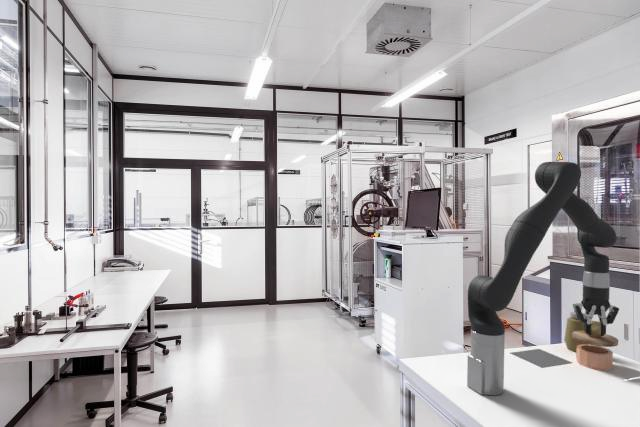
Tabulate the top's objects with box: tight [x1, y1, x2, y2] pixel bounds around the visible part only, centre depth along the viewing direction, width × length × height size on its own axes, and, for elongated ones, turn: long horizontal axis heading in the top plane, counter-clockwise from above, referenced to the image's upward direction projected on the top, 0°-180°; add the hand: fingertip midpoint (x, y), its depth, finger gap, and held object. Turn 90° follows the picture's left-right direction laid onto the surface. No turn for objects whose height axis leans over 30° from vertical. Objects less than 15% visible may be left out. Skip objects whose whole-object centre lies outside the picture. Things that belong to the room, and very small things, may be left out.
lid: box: [572, 320, 619, 348], centre depth 137 cm, size 13×13×6 cm
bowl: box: [575, 344, 614, 371], centre depth 138 cm, size 10×10×6 cm
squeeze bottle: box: [563, 302, 590, 353], centre depth 151 cm, size 8×8×18 cm
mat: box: [509, 348, 573, 369], centre depth 143 cm, size 14×14×1 cm
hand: (594, 334), depth 137 cm, fingers closed on lid, 3 cm apart
